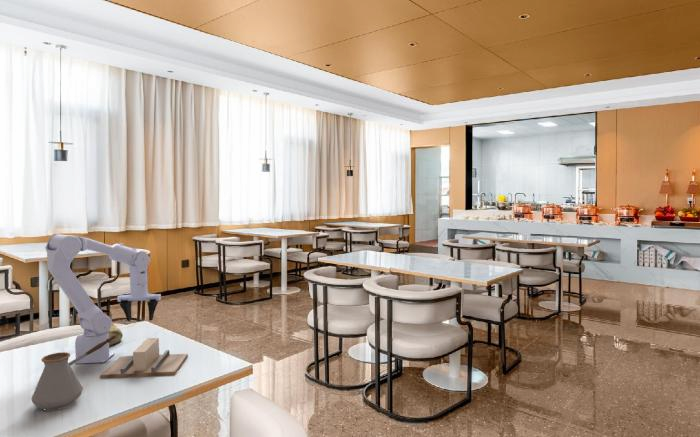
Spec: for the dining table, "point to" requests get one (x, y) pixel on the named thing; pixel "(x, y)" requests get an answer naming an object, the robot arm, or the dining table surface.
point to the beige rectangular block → (146, 354)
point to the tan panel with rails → (160, 366)
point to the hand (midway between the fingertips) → (140, 320)
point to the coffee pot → (60, 380)
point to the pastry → (113, 332)
